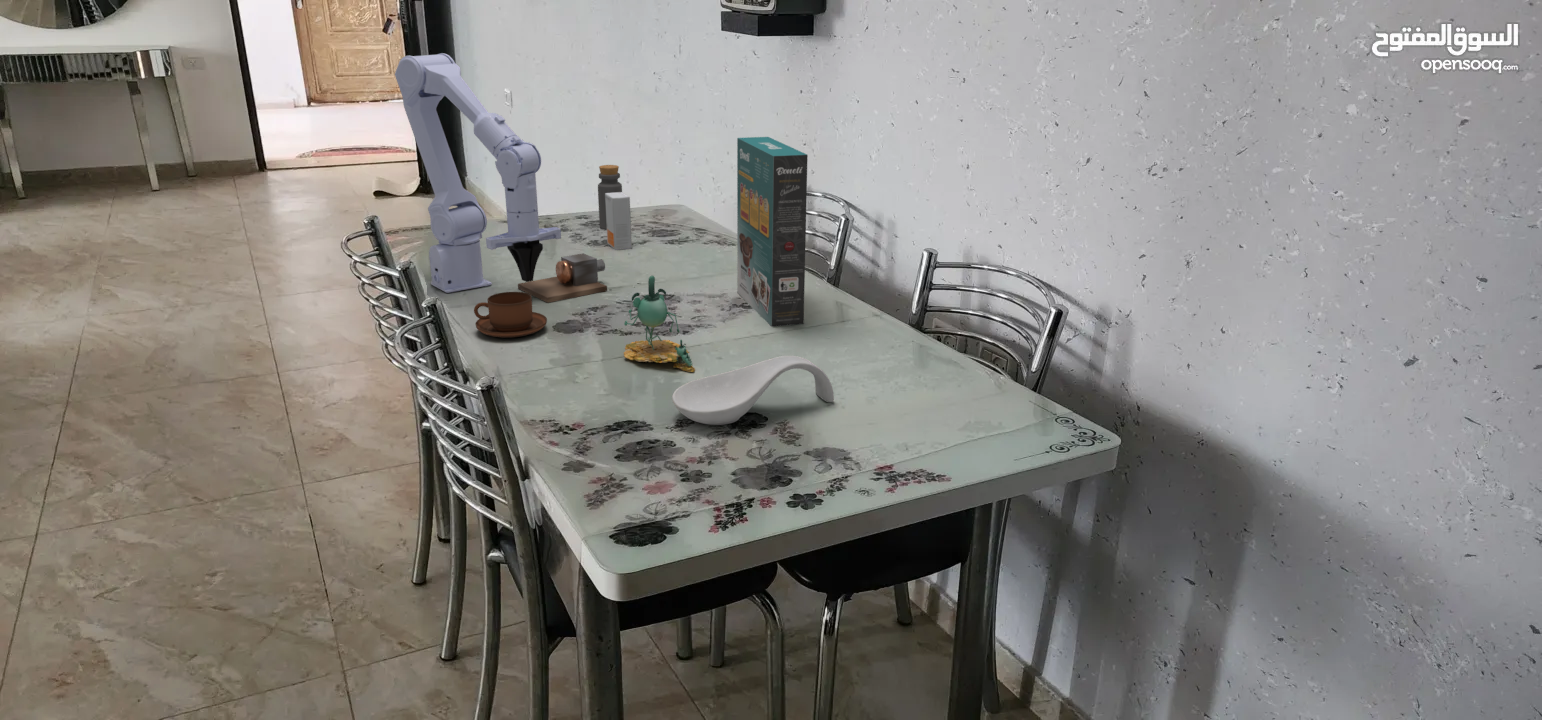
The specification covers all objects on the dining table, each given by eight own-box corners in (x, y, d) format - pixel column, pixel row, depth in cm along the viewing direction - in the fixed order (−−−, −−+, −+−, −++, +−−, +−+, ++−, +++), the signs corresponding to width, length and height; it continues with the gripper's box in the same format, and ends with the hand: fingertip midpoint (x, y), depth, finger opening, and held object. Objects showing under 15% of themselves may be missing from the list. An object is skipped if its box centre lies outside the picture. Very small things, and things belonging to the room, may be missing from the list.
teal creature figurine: (652, 382, 154) (643, 287, 150) (608, 359, 169) (599, 271, 165) (708, 370, 158) (701, 277, 154) (661, 349, 173) (653, 263, 170)
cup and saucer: (481, 346, 168) (477, 311, 166) (472, 325, 179) (469, 291, 176) (553, 338, 172) (551, 303, 170) (541, 318, 183) (538, 285, 181)
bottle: (621, 229, 248) (619, 168, 243) (597, 229, 248) (594, 168, 243) (625, 224, 253) (622, 164, 248) (602, 224, 253) (599, 164, 248)
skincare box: (606, 244, 234) (604, 192, 230) (624, 242, 236) (622, 191, 232) (614, 250, 229) (612, 197, 225) (632, 248, 231) (630, 196, 226)
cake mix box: (803, 323, 181) (807, 154, 170) (771, 326, 179) (773, 156, 169) (766, 290, 200) (768, 136, 190) (737, 292, 199) (737, 137, 188)
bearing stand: (547, 302, 191) (545, 273, 189) (518, 288, 200) (515, 260, 198) (607, 290, 199) (605, 262, 197) (576, 277, 207) (574, 250, 205)
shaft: (567, 285, 197) (566, 263, 196) (556, 280, 200) (555, 259, 199) (608, 277, 203) (607, 256, 201) (596, 273, 206) (595, 252, 204)
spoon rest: (690, 441, 134) (690, 391, 132) (660, 409, 144) (659, 362, 142) (846, 412, 144) (848, 365, 142) (808, 384, 154) (809, 340, 152)
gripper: (495, 218, 182) (501, 291, 186) (567, 208, 190) (571, 278, 195) (478, 212, 187) (484, 283, 191) (548, 202, 196) (553, 270, 200)
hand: (527, 280), depth 194 cm, fingers closed
